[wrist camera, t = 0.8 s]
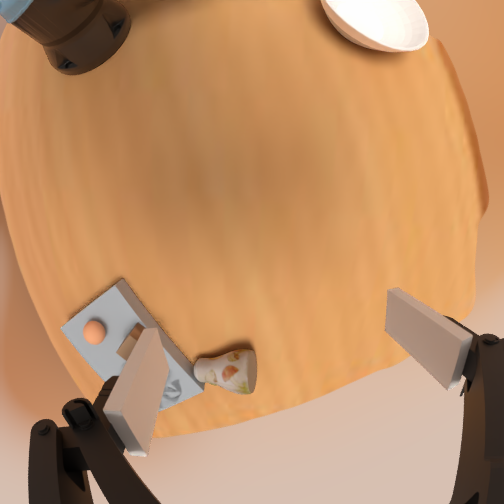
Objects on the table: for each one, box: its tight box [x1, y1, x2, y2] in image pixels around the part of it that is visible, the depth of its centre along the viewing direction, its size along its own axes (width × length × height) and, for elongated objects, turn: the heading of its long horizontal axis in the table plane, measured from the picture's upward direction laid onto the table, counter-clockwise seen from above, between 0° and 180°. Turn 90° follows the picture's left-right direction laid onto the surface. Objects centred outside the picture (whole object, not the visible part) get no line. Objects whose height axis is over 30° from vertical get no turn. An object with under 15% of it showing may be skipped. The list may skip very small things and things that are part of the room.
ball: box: [83, 321, 105, 345], centre depth 34 cm, size 4×4×4 cm
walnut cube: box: [116, 322, 146, 361], centre depth 35 cm, size 4×4×4 cm
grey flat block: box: [60, 279, 205, 412], centre depth 39 cm, size 21×14×4 cm, turn 32°
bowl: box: [320, 0, 429, 52], centre depth 29 cm, size 19×19×8 cm
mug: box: [194, 349, 257, 394], centre depth 40 cm, size 8×10×10 cm
